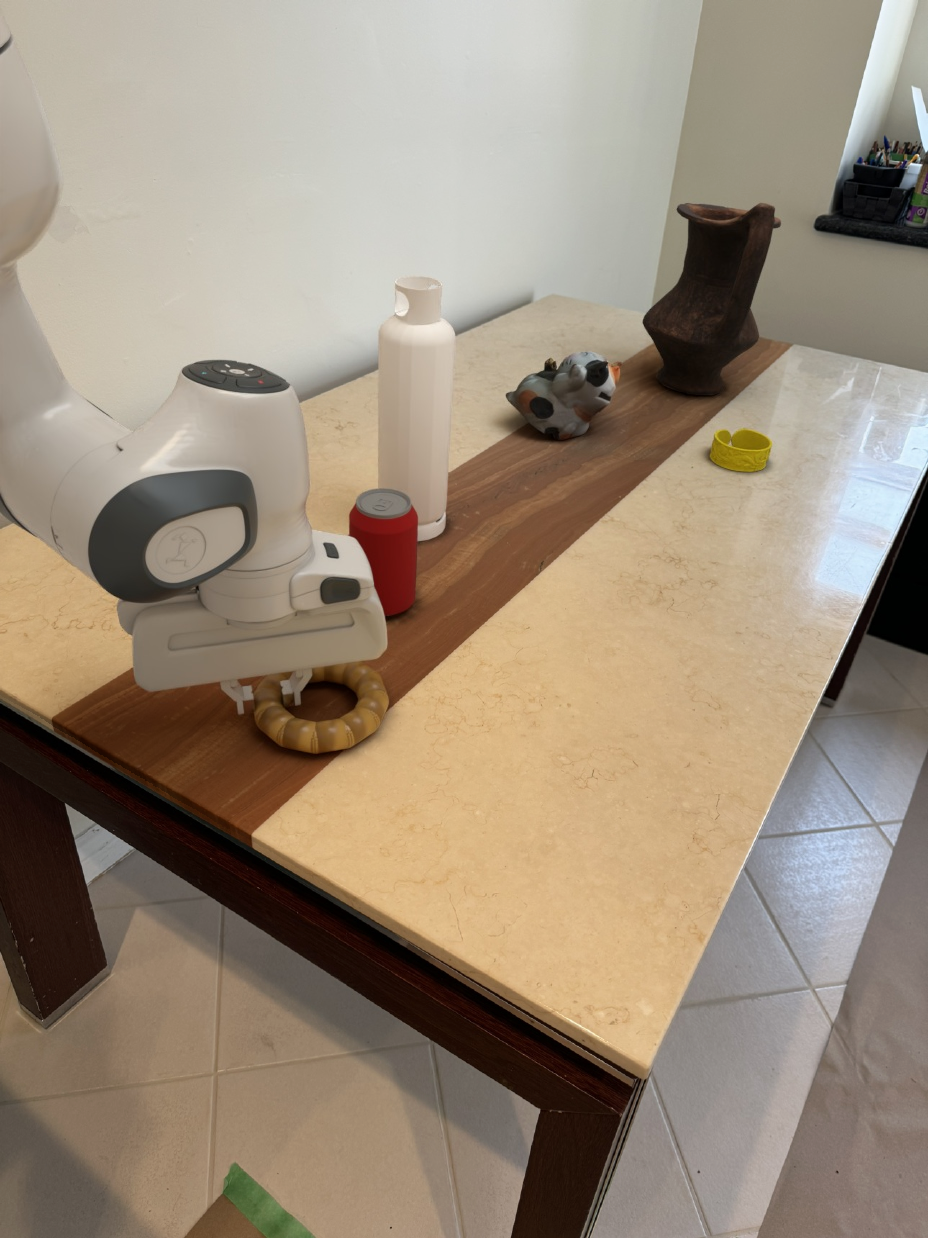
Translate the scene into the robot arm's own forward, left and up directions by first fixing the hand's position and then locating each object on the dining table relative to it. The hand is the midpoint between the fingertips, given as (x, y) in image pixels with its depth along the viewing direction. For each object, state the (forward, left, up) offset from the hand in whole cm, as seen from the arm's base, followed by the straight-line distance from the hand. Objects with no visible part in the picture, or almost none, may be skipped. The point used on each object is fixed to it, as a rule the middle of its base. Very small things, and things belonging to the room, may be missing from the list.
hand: (269, 705), depth 75 cm
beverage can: (+14, +15, -2) cm, 20 cm away
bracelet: (+71, +38, -2) cm, 80 cm away
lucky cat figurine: (+50, +54, -2) cm, 73 cm away
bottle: (+21, +30, -2) cm, 36 cm away
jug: (+78, +64, -2) cm, 101 cm away
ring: (+5, 0, 0) cm, 5 cm away
